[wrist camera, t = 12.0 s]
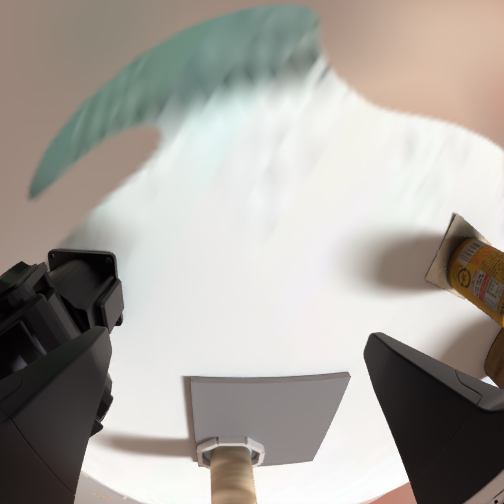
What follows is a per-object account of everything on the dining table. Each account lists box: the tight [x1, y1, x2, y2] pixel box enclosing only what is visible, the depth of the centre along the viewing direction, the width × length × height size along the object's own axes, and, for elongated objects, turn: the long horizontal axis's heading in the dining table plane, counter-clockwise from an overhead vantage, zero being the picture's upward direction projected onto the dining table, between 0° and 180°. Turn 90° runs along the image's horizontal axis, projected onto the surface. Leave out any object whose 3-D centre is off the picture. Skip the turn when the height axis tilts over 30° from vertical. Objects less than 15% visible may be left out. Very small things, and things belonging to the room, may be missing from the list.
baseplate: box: [191, 372, 351, 469], centre depth 28 cm, size 16×18×2 cm
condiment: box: [425, 214, 504, 328], centre depth 19 cm, size 7×8×12 cm
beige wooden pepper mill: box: [210, 446, 257, 504], centre depth 22 cm, size 5×5×15 cm
